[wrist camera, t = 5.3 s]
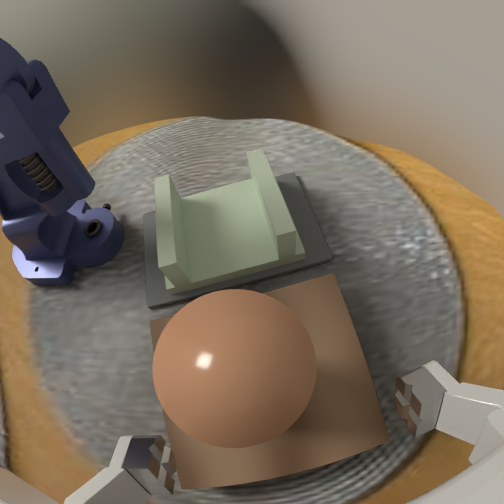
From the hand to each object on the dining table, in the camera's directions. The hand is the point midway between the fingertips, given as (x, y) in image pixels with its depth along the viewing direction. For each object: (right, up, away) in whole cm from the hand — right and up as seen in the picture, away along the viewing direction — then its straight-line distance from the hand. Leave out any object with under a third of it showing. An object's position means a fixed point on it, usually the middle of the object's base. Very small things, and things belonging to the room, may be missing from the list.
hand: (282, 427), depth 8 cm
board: (0, -3, +9) cm, 9 cm away
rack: (-3, +7, +15) cm, 17 cm away
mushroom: (0, -2, +7) cm, 7 cm away
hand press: (-20, +6, +17) cm, 27 cm away
